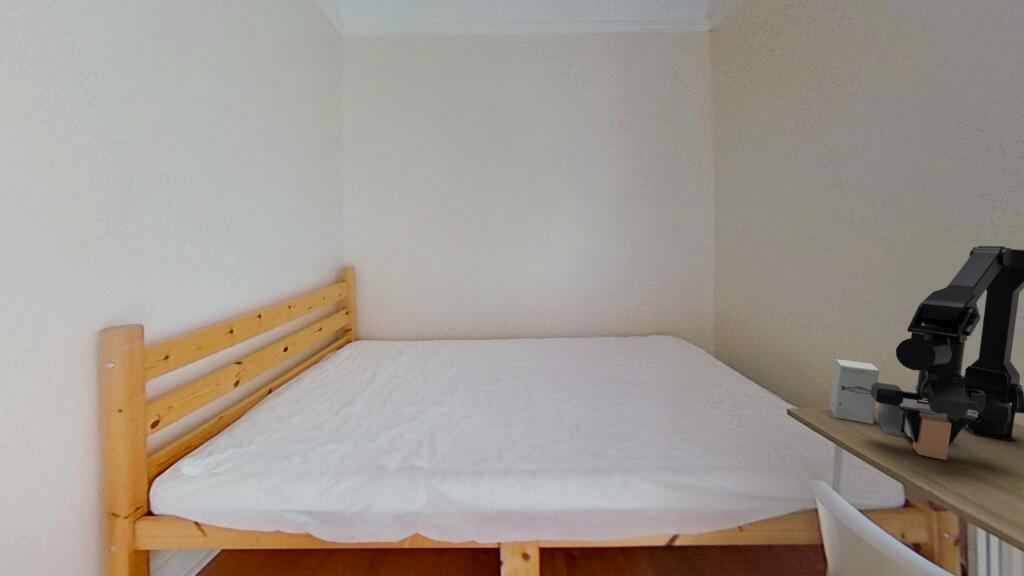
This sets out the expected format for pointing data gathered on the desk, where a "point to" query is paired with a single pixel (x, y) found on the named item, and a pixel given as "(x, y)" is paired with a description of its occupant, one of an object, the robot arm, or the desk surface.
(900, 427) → the block
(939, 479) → the desk surface
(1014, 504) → the desk surface
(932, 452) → the cover
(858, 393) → the supplement box
